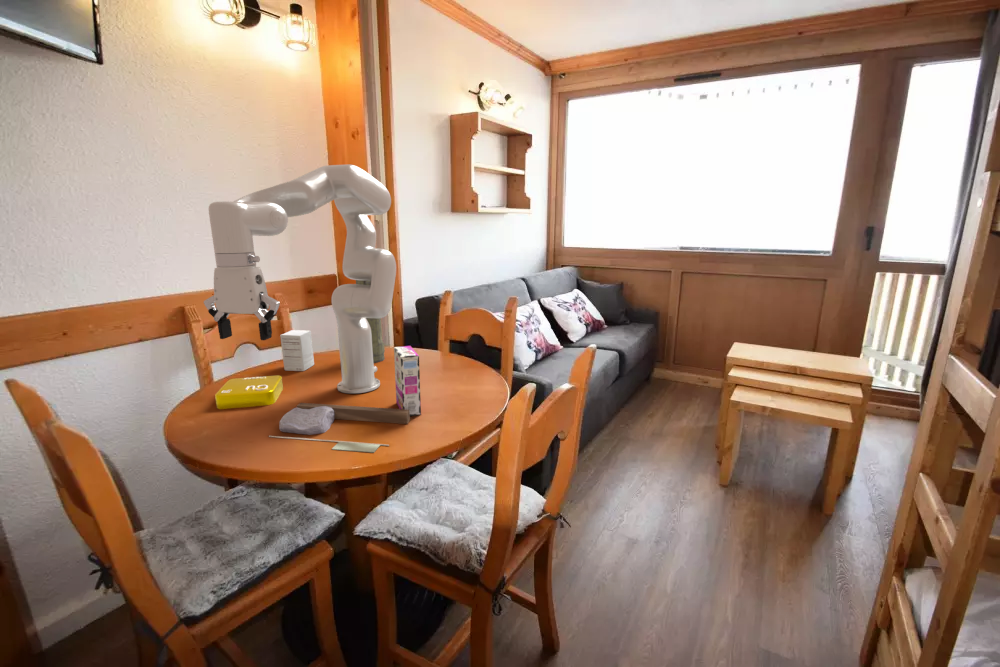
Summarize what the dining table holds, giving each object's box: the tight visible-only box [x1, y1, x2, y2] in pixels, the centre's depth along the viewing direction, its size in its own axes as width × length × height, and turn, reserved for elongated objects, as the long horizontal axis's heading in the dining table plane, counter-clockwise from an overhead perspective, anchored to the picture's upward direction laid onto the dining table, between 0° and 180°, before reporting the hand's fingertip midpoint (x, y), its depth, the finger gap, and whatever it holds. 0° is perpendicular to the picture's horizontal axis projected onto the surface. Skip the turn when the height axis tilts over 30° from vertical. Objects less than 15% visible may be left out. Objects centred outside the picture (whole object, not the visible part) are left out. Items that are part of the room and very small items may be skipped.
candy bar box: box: [393, 345, 422, 417], centre depth 128 cm, size 11×5×16 cm, turn 22°
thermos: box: [355, 280, 386, 364], centre depth 170 cm, size 9×12×35 cm
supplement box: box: [279, 329, 315, 372], centre depth 164 cm, size 7×7×13 cm
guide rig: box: [268, 402, 411, 454], centre depth 116 cm, size 18×30×3 cm, turn 81°
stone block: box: [278, 406, 335, 436], centre depth 119 cm, size 12×5×10 cm
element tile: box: [214, 375, 284, 410], centre depth 138 cm, size 15×15×5 cm
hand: (246, 338), depth 107 cm, fingers open, 9 cm apart
